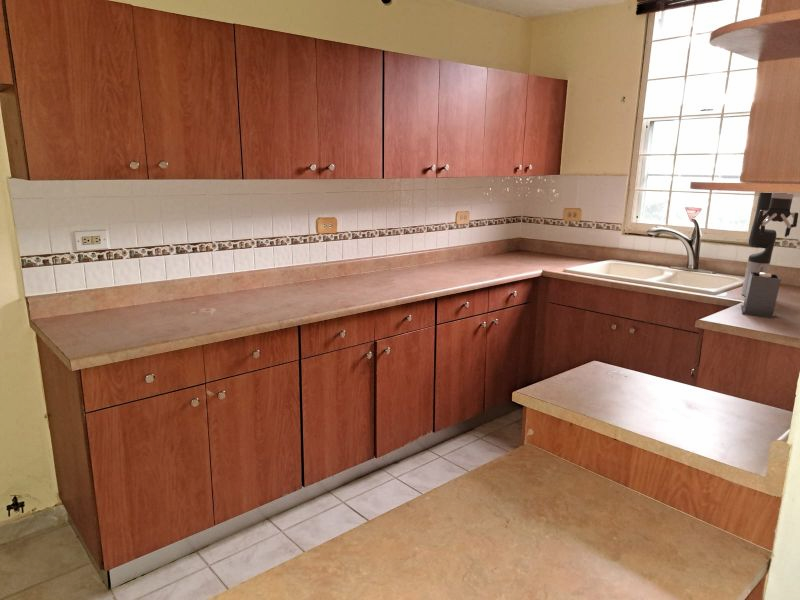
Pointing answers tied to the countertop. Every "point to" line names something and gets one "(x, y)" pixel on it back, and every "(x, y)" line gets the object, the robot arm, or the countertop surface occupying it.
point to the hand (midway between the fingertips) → (773, 235)
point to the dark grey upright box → (761, 295)
